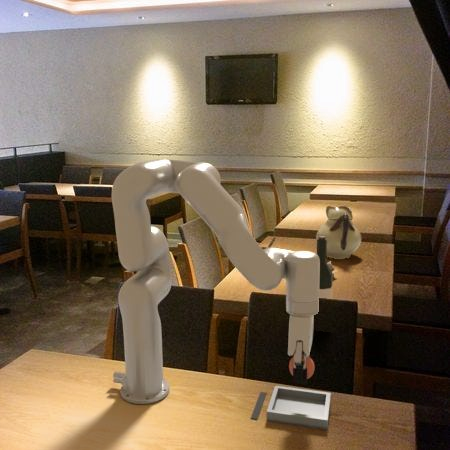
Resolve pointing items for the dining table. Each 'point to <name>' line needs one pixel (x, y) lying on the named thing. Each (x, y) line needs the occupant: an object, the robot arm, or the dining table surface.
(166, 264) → the robot arm
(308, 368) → the ball
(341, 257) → the white drawstring sack
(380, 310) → the dining table surface
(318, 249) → the wine bottle
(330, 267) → the architectural model
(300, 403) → the tray
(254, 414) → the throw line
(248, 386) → the dining table surface
